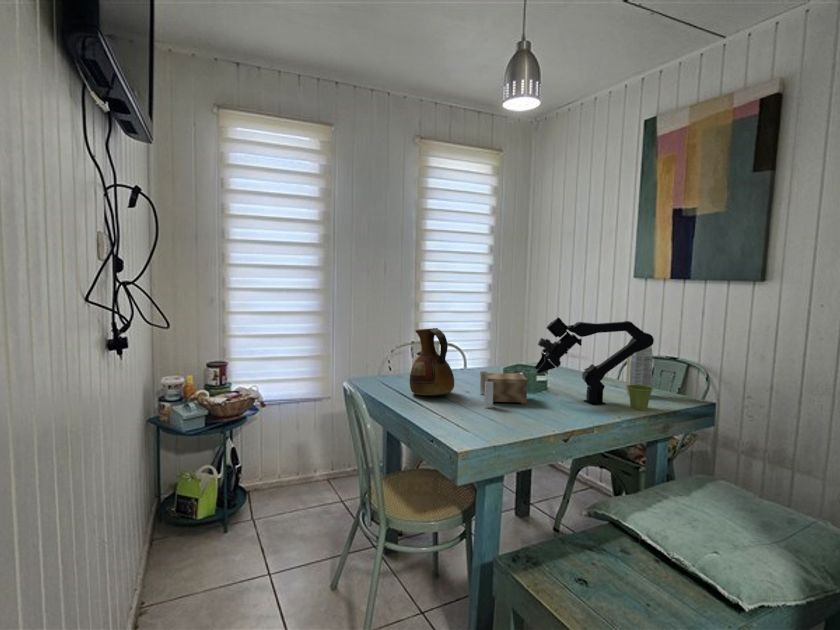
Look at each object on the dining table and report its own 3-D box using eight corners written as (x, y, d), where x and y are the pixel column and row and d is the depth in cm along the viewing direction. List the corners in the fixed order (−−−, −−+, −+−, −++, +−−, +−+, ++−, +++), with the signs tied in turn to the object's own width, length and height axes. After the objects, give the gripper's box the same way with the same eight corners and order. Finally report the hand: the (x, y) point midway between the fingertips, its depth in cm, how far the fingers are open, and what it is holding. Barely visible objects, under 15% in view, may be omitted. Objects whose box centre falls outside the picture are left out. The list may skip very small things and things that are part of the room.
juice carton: (645, 394, 212) (647, 341, 210) (652, 398, 204) (654, 344, 202) (624, 393, 213) (626, 341, 211) (630, 397, 205) (632, 343, 203)
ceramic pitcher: (427, 387, 219) (428, 324, 217) (463, 394, 207) (464, 327, 204) (399, 395, 204) (400, 327, 202) (436, 403, 191) (437, 330, 189)
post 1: (486, 393, 210) (487, 371, 209) (487, 394, 207) (487, 372, 206) (479, 393, 210) (480, 371, 209) (480, 394, 207) (480, 372, 206)
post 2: (491, 406, 188) (492, 381, 187) (492, 408, 185) (493, 383, 184) (484, 406, 188) (485, 381, 187) (485, 408, 185) (485, 383, 184)
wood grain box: (521, 397, 203) (522, 373, 202) (526, 404, 191) (527, 379, 190) (484, 396, 203) (484, 372, 203) (487, 403, 191) (487, 378, 191)
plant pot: (657, 410, 185) (658, 388, 184) (639, 412, 182) (640, 390, 181) (638, 404, 194) (639, 383, 193) (621, 406, 190) (622, 385, 190)
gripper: (547, 329, 205) (521, 353, 208) (552, 334, 187) (524, 360, 189) (565, 347, 205) (539, 371, 207) (572, 353, 186) (544, 380, 189)
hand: (536, 370), depth 198 cm, fingers open, 9 cm apart
